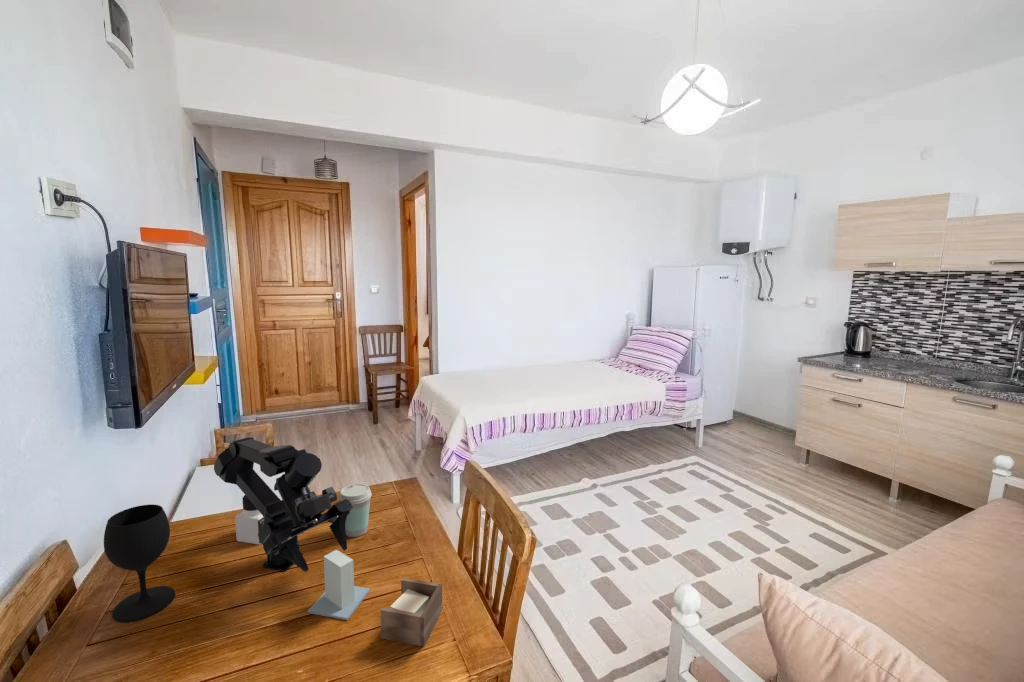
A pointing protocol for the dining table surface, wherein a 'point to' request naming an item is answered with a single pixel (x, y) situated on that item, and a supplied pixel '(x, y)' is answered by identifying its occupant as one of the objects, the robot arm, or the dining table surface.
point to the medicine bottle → (248, 523)
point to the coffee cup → (357, 508)
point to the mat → (332, 610)
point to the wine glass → (138, 557)
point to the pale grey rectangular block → (339, 579)
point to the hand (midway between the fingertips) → (327, 559)
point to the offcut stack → (411, 602)
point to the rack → (413, 615)
